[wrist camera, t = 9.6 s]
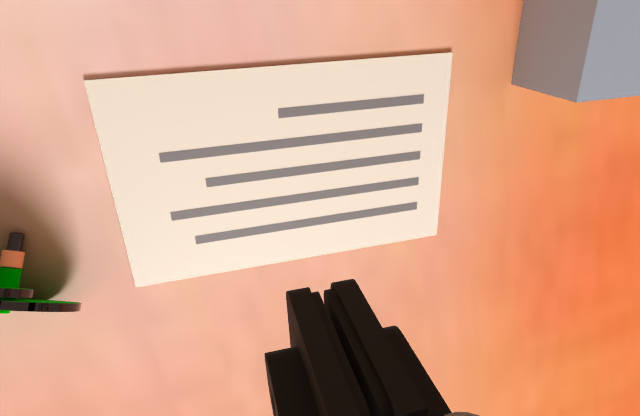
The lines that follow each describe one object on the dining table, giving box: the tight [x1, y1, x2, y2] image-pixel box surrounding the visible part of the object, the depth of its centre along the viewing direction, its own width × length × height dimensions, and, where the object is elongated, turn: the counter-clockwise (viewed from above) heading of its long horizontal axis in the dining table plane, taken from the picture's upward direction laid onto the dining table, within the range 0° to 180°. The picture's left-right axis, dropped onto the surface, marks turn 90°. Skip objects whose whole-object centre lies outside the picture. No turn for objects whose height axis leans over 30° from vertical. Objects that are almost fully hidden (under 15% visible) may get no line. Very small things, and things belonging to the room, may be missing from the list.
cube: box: [511, 0, 640, 102], centre depth 23 cm, size 5×5×5 cm
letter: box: [84, 52, 453, 287], centre depth 25 cm, size 18×11×1 cm, turn 89°
